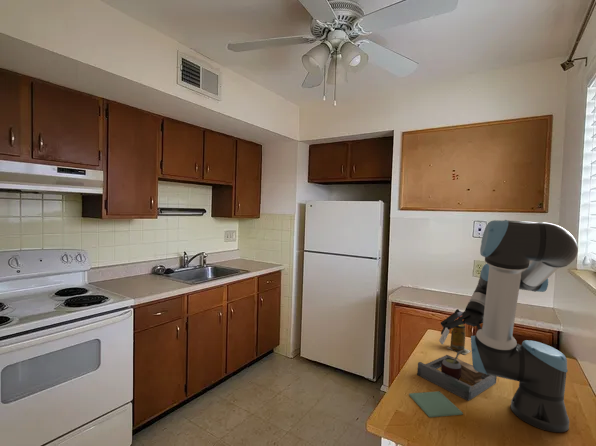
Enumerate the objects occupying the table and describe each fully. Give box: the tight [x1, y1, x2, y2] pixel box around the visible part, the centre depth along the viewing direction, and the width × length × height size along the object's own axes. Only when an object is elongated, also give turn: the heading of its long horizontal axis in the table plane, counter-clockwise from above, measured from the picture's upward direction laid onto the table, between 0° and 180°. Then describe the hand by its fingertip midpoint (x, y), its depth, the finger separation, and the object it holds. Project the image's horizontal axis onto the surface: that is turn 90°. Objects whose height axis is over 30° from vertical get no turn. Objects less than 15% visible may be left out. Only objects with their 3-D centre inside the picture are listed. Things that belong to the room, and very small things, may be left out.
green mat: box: [408, 390, 464, 418], centre depth 107 cm, size 12×12×1 cm
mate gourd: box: [440, 350, 465, 381], centre depth 122 cm, size 8×8×15 cm
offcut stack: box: [452, 356, 483, 385], centre depth 128 cm, size 14×4×5 cm, turn 24°
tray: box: [416, 354, 497, 402], centre depth 125 cm, size 20×22×5 cm
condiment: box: [446, 324, 472, 355], centre depth 152 cm, size 7×8×12 cm
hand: (457, 349), depth 125 cm, fingers open, 13 cm apart
